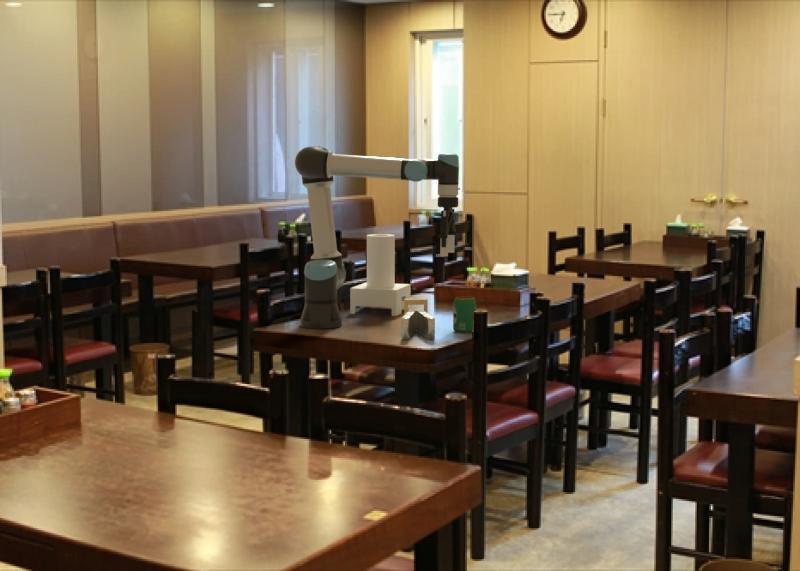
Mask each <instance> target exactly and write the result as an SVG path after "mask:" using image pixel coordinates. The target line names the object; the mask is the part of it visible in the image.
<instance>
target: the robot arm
mask: <svg viewBox="0 0 800 571" xmlns="http://www.w3.org/2000/svg"><path fill="white" fill-rule="evenodd" d="M294 166H295V170H296V171H297V173H298V174H299V175H300V176H301V181H302V182H301V183H302V185H303V186H304V187H305V188H306V189H307V190H306V191H307V199H308V206H309V218H310V226H311V227H310V228H311V237H312V243H313V244H312V246H313V254H312V255H311V256H310V261H307V262H306V263H305V266H304V271H303V274H304V307H303V309H302V313H301V316H300V322H299V323H300V324H299V326H300V327H302V328H306V329H316V330H317V329H319V330H320V329H334V328H339V327H342V326H343V319H342V315H341V313H340V312H341V311H340V309H339V306H338V290H339V289H341V287H342V286H343V285H344V283H345V281H346V276H347V271H346V268H345V265H344V263H343V254H342V253H341V252H339V250H338V247H337V238H336V230H335V229H336V228H335V218H334V210H333V208H334V207H333V201H332V199H333V198H332V190H331V187H332V185H333V183H334V182H335V180H334V176H337V177H338V176H339V177H355V178H368V179H369V178H370V179H371V178H372V179H380V180H381V179H383V180H396V181H397V180H399V181H409V182H410V181H411V182H417V183H418V182H421V181H425V180H427V181H430V180H431V181H432V180H433V181H435V180H436V181H437V196H438V197H437V207H439V208H443V210H441V212H440V214H441V215H440V226H439V234H438V236H437V238H438V239H440V242H439V245H440V246H439V248H440V249H439V254H440V255H439V257H449V253H453V254H454V253H455V239H456V238H455V237H456V236H457V234H458V232H457V231H456V218H455V208H458V207H459V197H458V196H459V191H460V189H461V187H460V186H459V182H460V181H459V180H460V179H459V178H460V177H459V176H460V163H459V155H458V154H456V153H438V157H437V158H434V159H433V158H396V157H382V156H367V155H355V154H354V155H353V154H351V155H350V154H337V153H333V151H331V150H329V149H327V148H326V147H323V146H320V145H318V146H317V145H314V146H306V147H303V148H302V149H300V150H299V151H298V153H297V154H296V156H295V160H294Z"/></svg>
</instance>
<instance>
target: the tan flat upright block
mask: <svg viewBox="0 0 800 571" xmlns="http://www.w3.org/2000/svg"><path fill="white" fill-rule="evenodd" d="M428 303H429V302H428V298H411V299H404V301H403V316H404V315H405V314H406V313H407V312H408V311H409V310H408V305H411V306H412V305H414V306H415V305H416V306H420V305H421V306H423V311H425V312H426V313H428V312H429V311H428V308H429V307H428V305H429V304H428ZM428 314H429V313H428Z"/></svg>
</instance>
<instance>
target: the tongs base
mask: <svg viewBox="0 0 800 571" xmlns="http://www.w3.org/2000/svg"><path fill="white" fill-rule="evenodd" d="M408 311H415V331H417V311H424V309H409V310H408Z"/></svg>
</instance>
